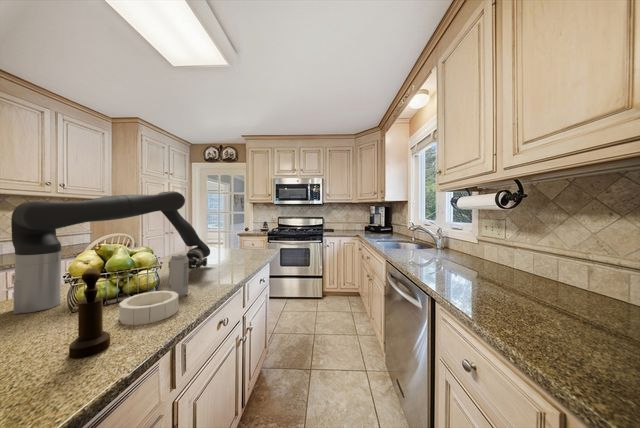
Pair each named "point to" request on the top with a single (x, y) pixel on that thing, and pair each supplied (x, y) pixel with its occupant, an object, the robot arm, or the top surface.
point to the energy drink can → (178, 274)
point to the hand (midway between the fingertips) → (185, 266)
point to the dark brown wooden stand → (90, 321)
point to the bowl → (148, 307)
